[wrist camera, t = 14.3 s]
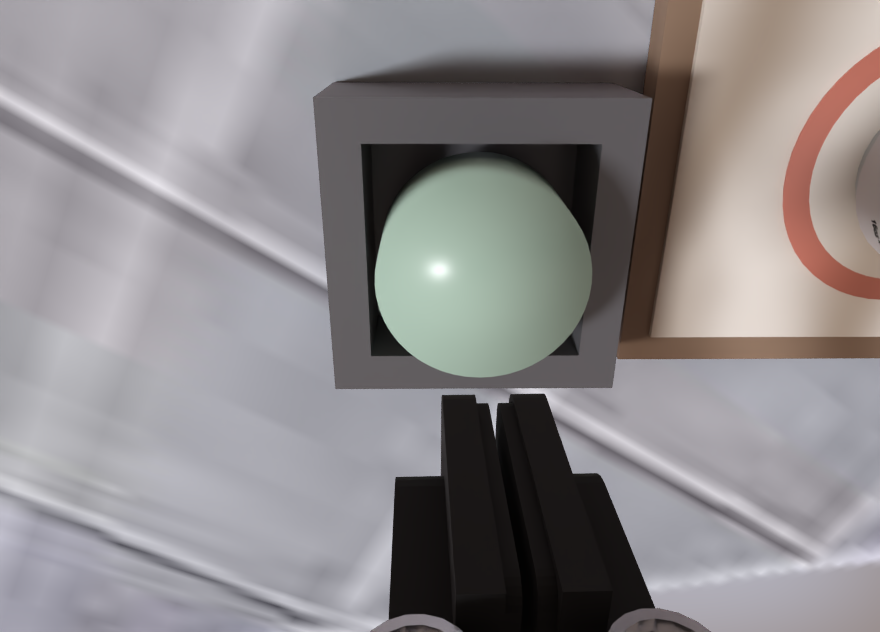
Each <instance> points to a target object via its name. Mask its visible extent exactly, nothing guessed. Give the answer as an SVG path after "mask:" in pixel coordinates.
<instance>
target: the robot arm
mask: <svg viewBox="0 0 880 632" xmlns="http://www.w3.org/2000/svg"><path fill="white" fill-rule="evenodd" d="M371 632H711V631H709V630H708V629H707V628H705V627H704V626H703V625H701V624H700V623H699V622H697V621H695V620H693V619H690V618H689V617H686V616H684V615H682V614H680V613H677V612H673V611H669V610H664V609H660V608H655V606H654V604H653V601H652V599H651V596H650V594H649V591H648V589H647V587H646V584H645V582H644V579H643V577H642V574H641V572H640V569H639V567H638V564H637V562H636V560H635V557H634V555H633V552H632V550H631V547H630V545H629V542H628V540H627V537H626V535H625V532H624V530H623V528H622V525H621V523H620V520H619V518H618V515H617V513H616V510H615V508H614V505H613V503H612V500H611V498H610V496H609V493H608V491H607V488H606V486H605V483H604V481H603V479H602V478H601V476H600V475H599V474H597V473H590V474H573V473H572V470H571V468H570V465H569V462H568V459H567V456H566V453H565V450H564V447H563V444H562V441H561V439H560V436H559V433H558V430H557V427H556V424H555V421H554V418H553V415H552V412H551V409H550V407H549V404H548V401H547V398H546V396H545V394H511V395H510V398H509V403H498V406H497V418H496V439H495V436H494V430H493V425H492V420H491V414H490V409H489V404H488V403H478V404H477V403H476V397H475V395H442V403H441V476H426V477H396V479H395V497H394V518H393V539H392V561H391V582H390V604H389V620H387V621H385V622H384V623H382V624H381V625H379V626H378V627H376V628H374V629H373V630H371Z"/></svg>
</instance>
